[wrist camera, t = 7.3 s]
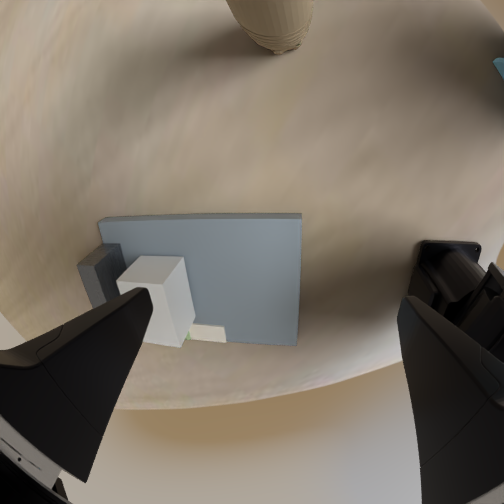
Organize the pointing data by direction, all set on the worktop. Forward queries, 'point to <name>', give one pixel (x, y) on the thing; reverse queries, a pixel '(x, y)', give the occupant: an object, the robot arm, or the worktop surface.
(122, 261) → the dark grey upright slab
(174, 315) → the block
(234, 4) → the handle
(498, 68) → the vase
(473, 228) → the worktop surface
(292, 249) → the board
